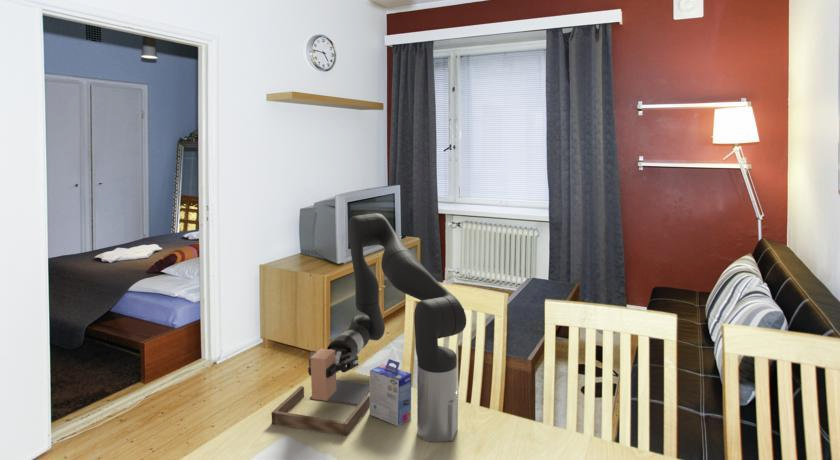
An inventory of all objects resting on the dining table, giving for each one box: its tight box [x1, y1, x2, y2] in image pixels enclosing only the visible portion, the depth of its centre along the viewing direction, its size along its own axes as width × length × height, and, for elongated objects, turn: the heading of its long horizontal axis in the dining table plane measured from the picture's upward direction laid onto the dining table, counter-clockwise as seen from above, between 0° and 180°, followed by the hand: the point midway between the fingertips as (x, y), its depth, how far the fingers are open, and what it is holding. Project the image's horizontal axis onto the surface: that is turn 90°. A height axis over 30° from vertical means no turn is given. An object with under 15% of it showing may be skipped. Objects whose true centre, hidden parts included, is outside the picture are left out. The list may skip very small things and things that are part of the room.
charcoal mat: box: [309, 379, 370, 407], centre depth 154 cm, size 14×12×1 cm
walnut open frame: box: [270, 385, 370, 437], centre depth 141 cm, size 20×15×3 cm
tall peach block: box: [310, 348, 337, 402], centre depth 141 cm, size 4×6×11 cm, turn 164°
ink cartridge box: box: [369, 358, 412, 427], centre depth 140 cm, size 10×6×14 cm, turn 53°
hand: (318, 373), depth 138 cm, fingers closed on tall peach block, 4 cm apart
